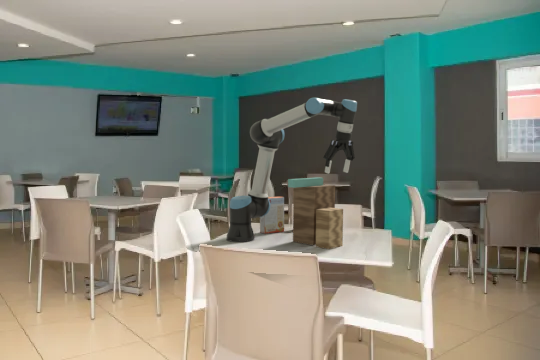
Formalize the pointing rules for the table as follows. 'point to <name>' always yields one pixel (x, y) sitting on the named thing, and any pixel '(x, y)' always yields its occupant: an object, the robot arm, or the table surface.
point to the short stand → (329, 228)
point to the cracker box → (273, 217)
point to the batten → (305, 182)
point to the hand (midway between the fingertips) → (336, 172)
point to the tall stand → (309, 210)
